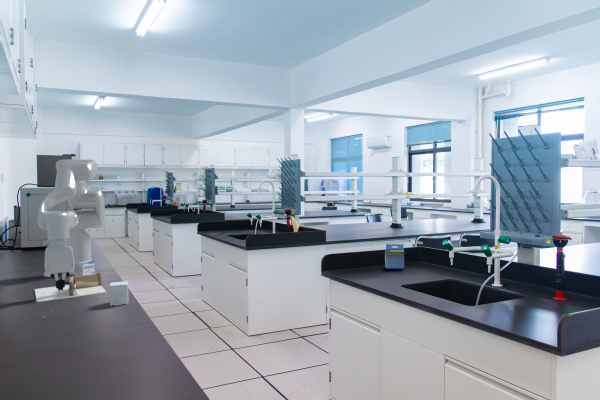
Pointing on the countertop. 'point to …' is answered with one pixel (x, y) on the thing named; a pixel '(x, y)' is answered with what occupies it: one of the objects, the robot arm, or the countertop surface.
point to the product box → (118, 293)
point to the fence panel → (71, 287)
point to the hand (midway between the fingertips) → (60, 289)
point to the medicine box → (84, 268)
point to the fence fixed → (87, 280)
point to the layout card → (65, 292)
